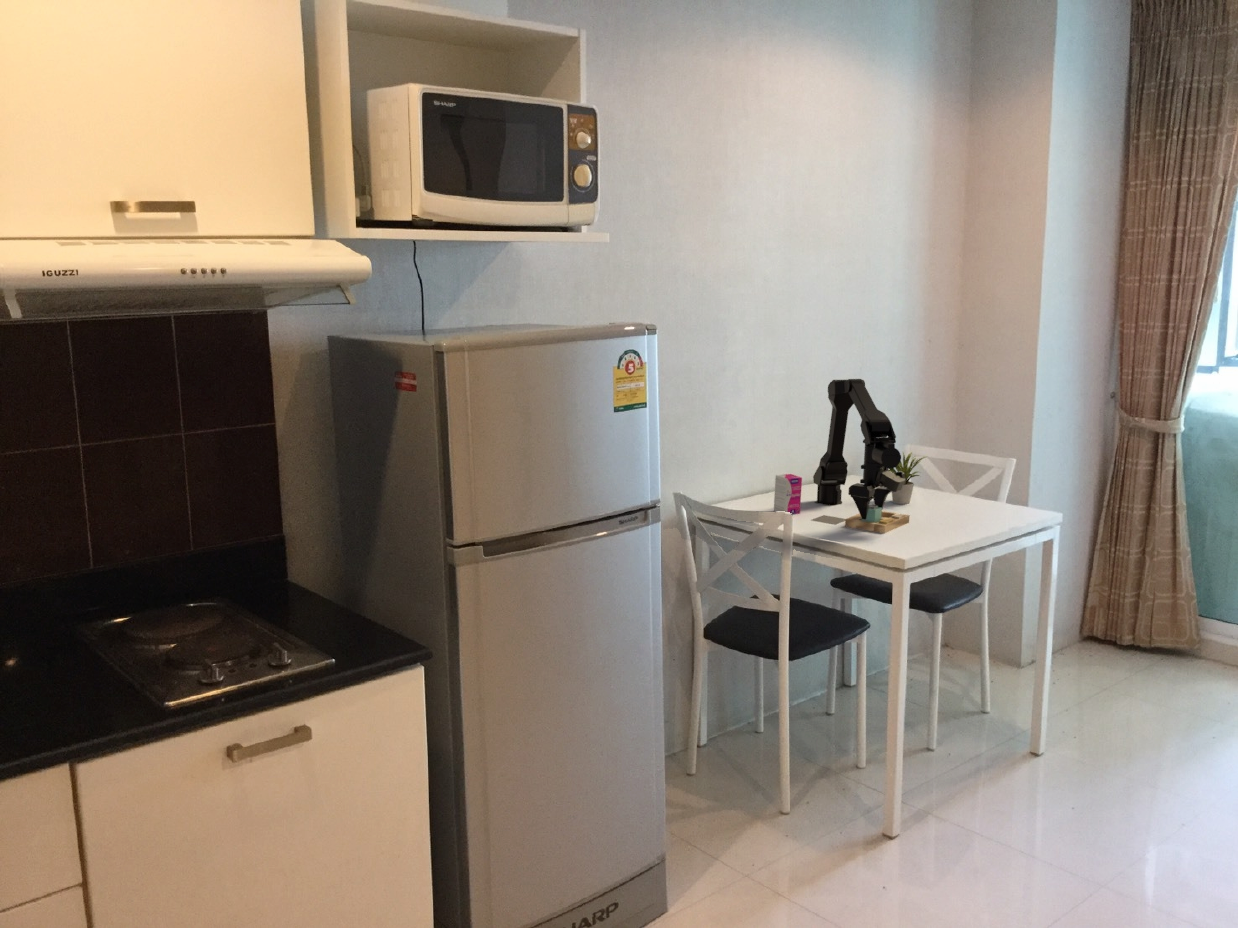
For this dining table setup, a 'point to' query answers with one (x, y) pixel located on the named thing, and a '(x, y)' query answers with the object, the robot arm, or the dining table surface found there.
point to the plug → (873, 514)
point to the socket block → (883, 526)
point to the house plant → (907, 488)
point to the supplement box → (787, 493)
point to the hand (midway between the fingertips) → (871, 516)
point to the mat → (829, 519)
